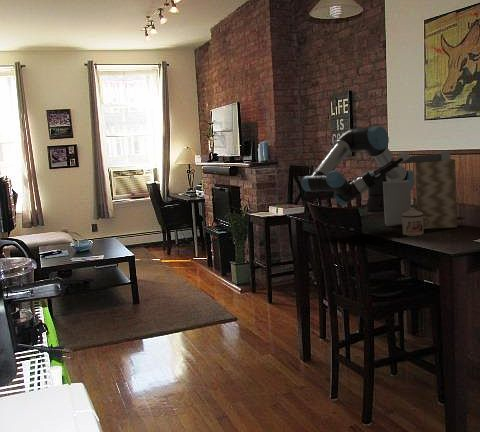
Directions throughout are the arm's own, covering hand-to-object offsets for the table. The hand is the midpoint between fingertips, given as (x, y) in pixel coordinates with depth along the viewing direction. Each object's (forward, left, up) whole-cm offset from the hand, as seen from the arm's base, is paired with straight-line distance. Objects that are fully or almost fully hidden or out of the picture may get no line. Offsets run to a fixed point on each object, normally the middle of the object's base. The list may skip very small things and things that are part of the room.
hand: (408, 154), depth 237 cm
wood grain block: (-6, +10, -34) cm, 36 cm away
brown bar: (-3, +4, -4) cm, 7 cm away
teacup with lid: (+13, +9, -34) cm, 38 cm away
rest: (-8, -11, -34) cm, 36 cm away
